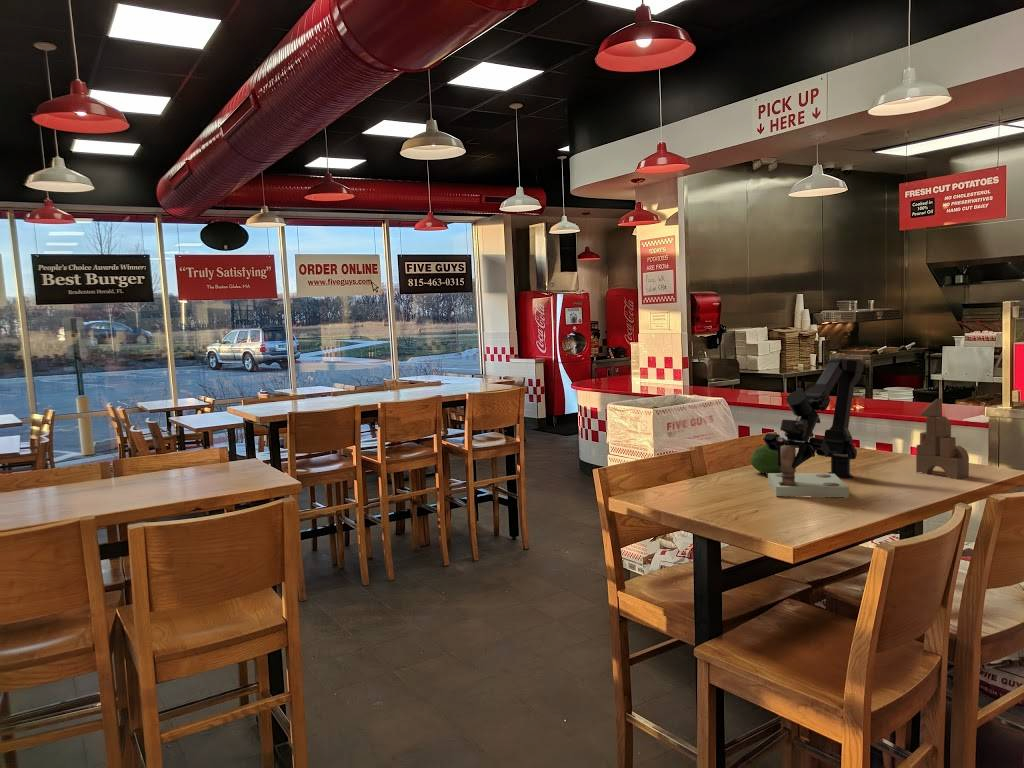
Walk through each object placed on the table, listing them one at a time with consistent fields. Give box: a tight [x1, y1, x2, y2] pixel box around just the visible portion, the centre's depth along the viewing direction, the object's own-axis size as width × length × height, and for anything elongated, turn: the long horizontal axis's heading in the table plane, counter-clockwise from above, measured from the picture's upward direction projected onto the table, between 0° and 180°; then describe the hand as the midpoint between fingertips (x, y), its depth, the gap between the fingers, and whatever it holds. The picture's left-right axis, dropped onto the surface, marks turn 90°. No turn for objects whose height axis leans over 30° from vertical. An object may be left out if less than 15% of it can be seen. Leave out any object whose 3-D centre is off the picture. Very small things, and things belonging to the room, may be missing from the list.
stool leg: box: [781, 445, 797, 486], centre depth 217 cm, size 4×4×12 cm
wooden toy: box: [915, 398, 970, 480], centre depth 235 cm, size 15×7×25 cm, turn 27°
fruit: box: [750, 444, 782, 474], centre depth 246 cm, size 15×10×10 cm, turn 35°
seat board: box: [767, 472, 850, 499], centre depth 222 cm, size 20×20×3 cm
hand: (785, 466), depth 216 cm, fingers closed on stool leg, 4 cm apart
